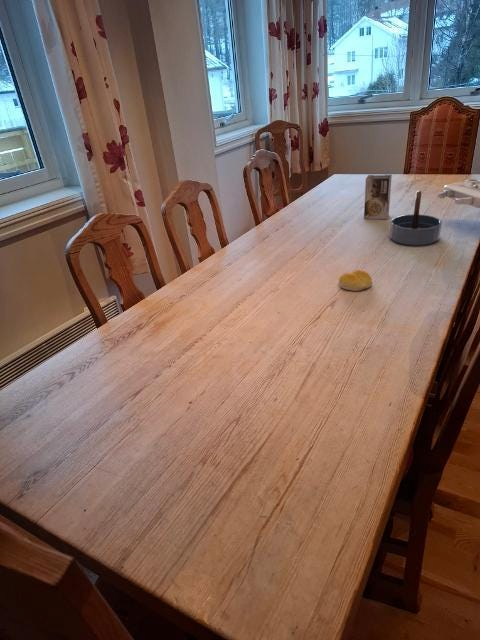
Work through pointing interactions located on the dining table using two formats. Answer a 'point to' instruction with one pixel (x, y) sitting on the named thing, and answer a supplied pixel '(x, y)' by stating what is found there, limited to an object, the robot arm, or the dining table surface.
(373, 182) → the coffee box
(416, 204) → the wooden peg stand
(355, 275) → the bread roll
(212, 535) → the dining table surface
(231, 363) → the dining table surface
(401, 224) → the bowl
